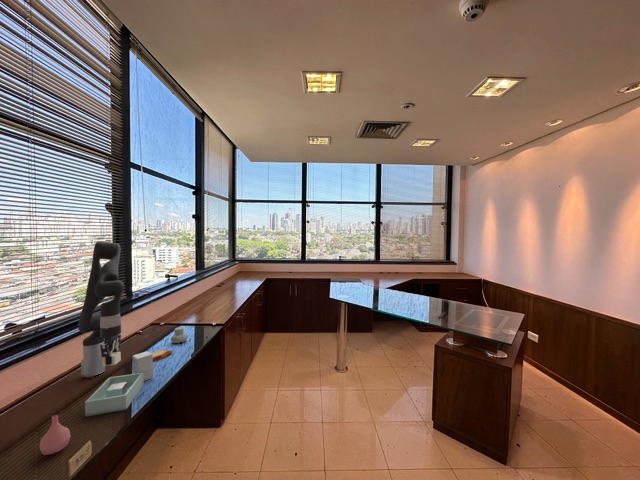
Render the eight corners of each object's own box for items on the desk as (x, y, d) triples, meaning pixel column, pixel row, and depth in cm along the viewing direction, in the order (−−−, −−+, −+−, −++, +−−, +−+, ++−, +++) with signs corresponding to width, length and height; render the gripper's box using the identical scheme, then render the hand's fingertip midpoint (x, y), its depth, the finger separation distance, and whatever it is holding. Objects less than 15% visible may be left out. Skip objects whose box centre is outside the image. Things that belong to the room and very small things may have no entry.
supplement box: (148, 373, 148) (147, 350, 148) (153, 377, 143) (153, 353, 143) (132, 379, 142) (132, 355, 142) (137, 383, 137) (136, 358, 137)
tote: (85, 416, 111) (84, 402, 112) (109, 389, 132) (109, 377, 132) (126, 409, 116) (125, 395, 116) (143, 384, 136) (143, 372, 136)
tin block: (106, 402, 120) (106, 390, 120) (112, 394, 126) (112, 384, 126) (122, 399, 122) (121, 388, 122) (127, 392, 128) (127, 381, 128)
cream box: (102, 366, 120) (102, 357, 120) (108, 361, 125) (108, 352, 125) (114, 364, 121) (114, 355, 121) (120, 360, 126) (120, 351, 126)
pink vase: (51, 461, 88) (50, 424, 88) (33, 458, 90) (32, 422, 90) (76, 444, 96) (75, 410, 96) (59, 441, 97) (58, 408, 98)
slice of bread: (134, 368, 156) (134, 361, 156) (141, 356, 173) (141, 350, 173) (169, 362, 163) (169, 355, 163) (173, 351, 180) (172, 345, 180)
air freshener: (168, 343, 193) (168, 329, 193) (178, 339, 201) (177, 326, 201) (180, 344, 190) (180, 330, 190) (189, 340, 198) (189, 327, 198)
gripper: (108, 321, 129) (109, 357, 129) (92, 330, 115) (93, 370, 115) (127, 319, 131) (127, 354, 131) (112, 328, 117) (113, 367, 117)
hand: (111, 361), depth 123 cm, fingers closed on cream box, 5 cm apart
